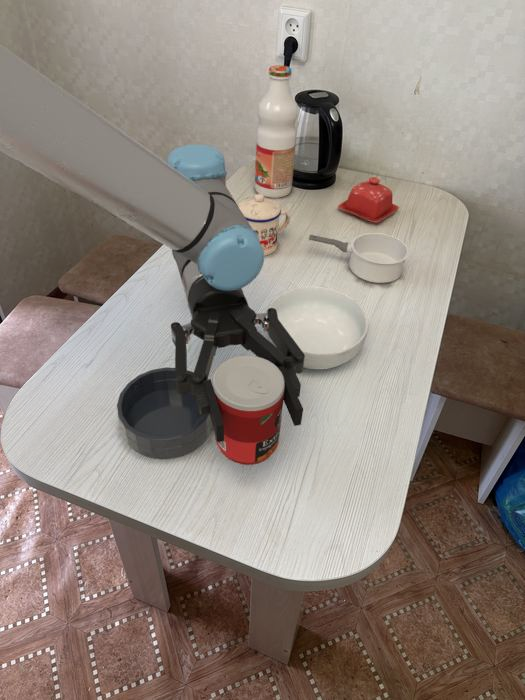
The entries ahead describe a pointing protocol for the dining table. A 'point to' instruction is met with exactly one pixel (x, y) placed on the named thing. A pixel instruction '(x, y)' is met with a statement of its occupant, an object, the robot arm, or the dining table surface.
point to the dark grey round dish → (161, 416)
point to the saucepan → (373, 255)
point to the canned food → (249, 408)
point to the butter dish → (370, 201)
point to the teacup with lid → (264, 220)
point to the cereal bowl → (322, 324)
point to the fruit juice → (276, 136)
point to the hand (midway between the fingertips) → (260, 425)
